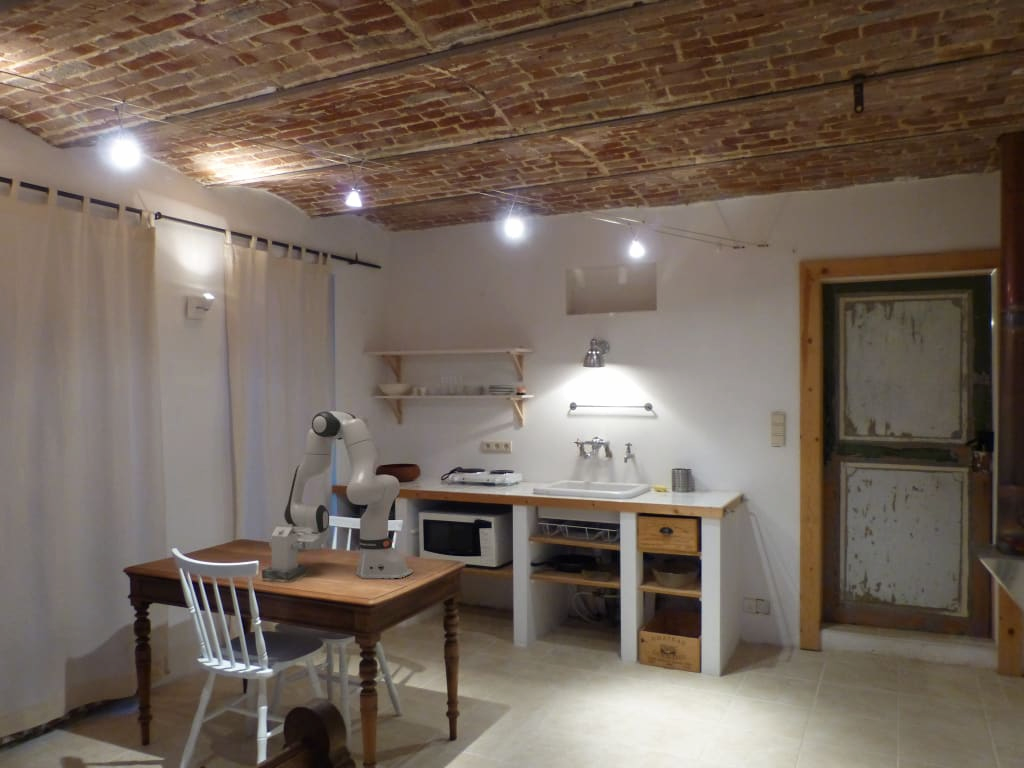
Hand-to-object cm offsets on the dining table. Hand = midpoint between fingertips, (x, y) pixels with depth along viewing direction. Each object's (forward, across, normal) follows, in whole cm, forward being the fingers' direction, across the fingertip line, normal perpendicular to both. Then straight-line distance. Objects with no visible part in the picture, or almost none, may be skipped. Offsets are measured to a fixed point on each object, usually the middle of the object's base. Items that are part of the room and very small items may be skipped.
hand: (283, 546), depth 298 cm
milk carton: (-1, 0, +10) cm, 11 cm away
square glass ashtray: (-1, 0, +12) cm, 12 cm away
